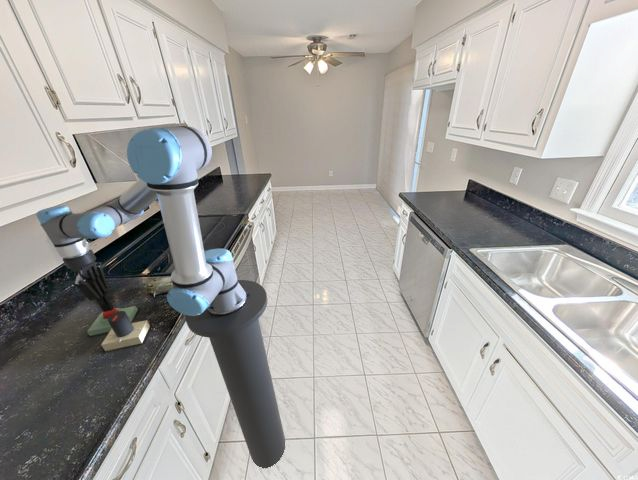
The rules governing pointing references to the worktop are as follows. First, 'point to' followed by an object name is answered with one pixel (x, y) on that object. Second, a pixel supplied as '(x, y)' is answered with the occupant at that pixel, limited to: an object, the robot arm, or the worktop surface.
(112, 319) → the dial
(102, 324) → the switch base
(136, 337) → the dial panel
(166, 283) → the mushroom
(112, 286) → the worktop surface
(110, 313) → the switch button
